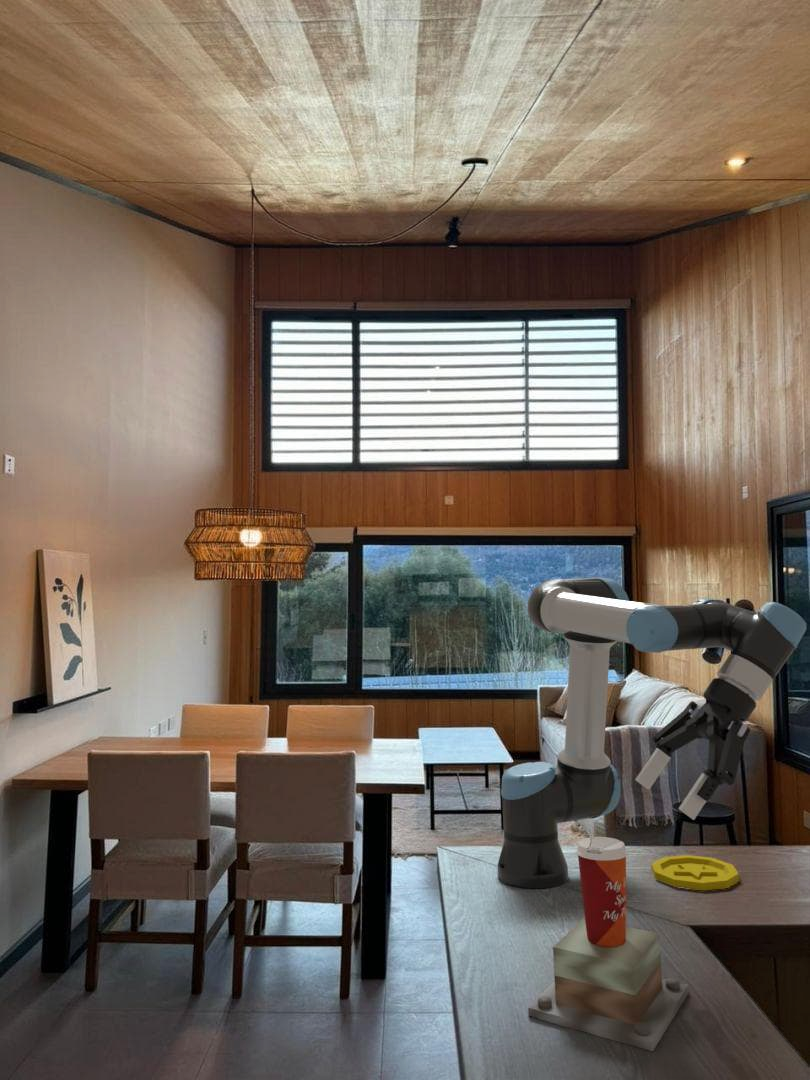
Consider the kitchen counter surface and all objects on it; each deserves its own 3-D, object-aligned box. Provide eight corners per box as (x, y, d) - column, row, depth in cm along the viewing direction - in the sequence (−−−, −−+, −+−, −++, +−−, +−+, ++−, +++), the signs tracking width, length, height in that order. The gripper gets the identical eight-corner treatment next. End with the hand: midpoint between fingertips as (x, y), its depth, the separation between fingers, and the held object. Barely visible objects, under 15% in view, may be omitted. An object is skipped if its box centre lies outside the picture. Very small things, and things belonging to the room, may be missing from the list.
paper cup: (624, 954, 114) (618, 853, 115) (572, 944, 118) (567, 846, 119) (639, 934, 120) (634, 839, 121) (590, 924, 124) (585, 833, 125)
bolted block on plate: (528, 1016, 116) (525, 950, 116) (576, 966, 130) (572, 908, 131) (652, 1051, 106) (648, 979, 106) (688, 992, 120) (684, 930, 121)
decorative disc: (637, 880, 169) (637, 870, 169) (677, 859, 181) (677, 850, 182) (714, 899, 157) (713, 888, 157) (751, 875, 169) (750, 865, 170)
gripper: (805, 721, 117) (726, 842, 115) (709, 686, 142) (641, 786, 140) (769, 693, 116) (688, 814, 114) (678, 662, 140) (610, 762, 138)
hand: (662, 799), depth 127 cm, fingers open, 13 cm apart
